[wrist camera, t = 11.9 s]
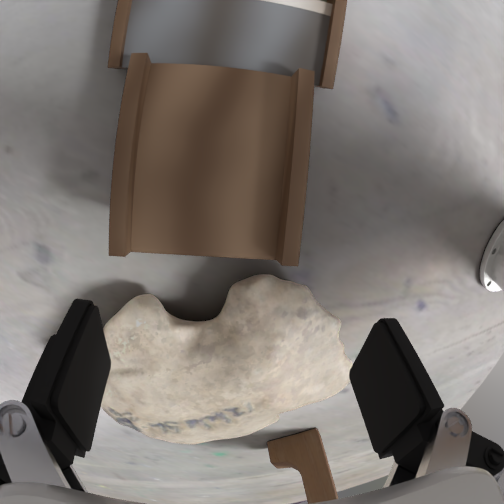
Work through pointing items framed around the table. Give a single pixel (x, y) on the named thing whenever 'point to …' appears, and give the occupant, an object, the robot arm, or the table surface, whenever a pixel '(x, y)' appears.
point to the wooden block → (305, 463)
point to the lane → (217, 123)
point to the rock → (222, 363)
